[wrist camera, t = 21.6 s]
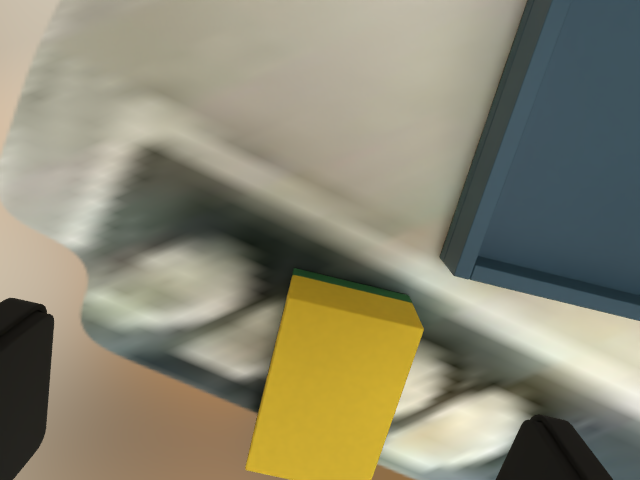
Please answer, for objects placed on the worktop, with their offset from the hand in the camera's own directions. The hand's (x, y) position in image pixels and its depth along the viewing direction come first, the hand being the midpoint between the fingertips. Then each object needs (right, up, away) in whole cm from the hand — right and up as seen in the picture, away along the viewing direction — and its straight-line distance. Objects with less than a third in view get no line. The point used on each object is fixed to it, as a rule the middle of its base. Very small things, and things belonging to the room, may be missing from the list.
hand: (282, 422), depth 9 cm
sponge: (+1, -3, +17) cm, 17 cm away
